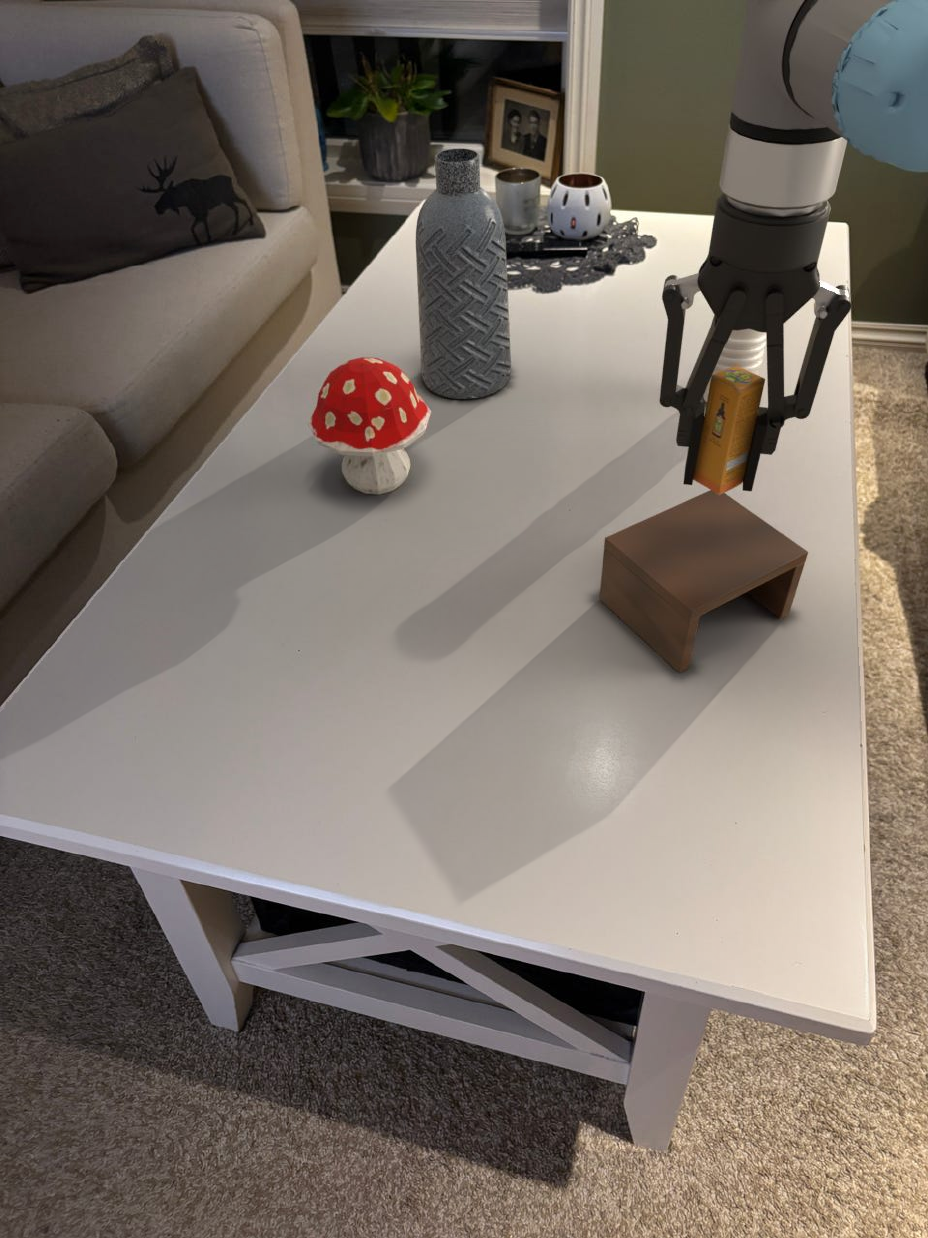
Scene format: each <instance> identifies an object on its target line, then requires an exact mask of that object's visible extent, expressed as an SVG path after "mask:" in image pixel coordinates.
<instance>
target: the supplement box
mask: <svg viewBox="0 0 928 1238" xmlns="http://www.w3.org/2000/svg"><path fill="white" fill-rule="evenodd" d="M765 382H766V379H765V377H762V376H760V375H759V374H758V375H756V374H754V373H752V372H749V371H747V370H745V369H743V368H741V367H739V366H734V367H730V368H728V369H725V370H723V371H720V372H718V373H716V374H713V375H712V378H711V382H710V388H709V394H708V399H707V402H706V404H705V413H704V422H703V427H702V433H701V439H700V444H699V450H698V455H697V461H696V467H695V472H694V478H693V481H695V482H696V483H698V484H700V485H702V486H703V487H705V488H707V489H708V490H709V491H710V490H712V491H713V492H714V493H716V494H717V495H721V494H723V493H725V494H726V493H727V492H729V491H731V490H733V489H734V488H737V487H738V486H740V485H743V478H744V474H745V469H746V465H747V460H748V456H749V452H750V447H751V443H752V438H753V433H754V429H755V424H756V420H757V415H758V411H759V407H761V406H760V405H761V401H762V396H763V393H764V387H765Z"/></svg>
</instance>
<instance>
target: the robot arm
mask: <svg viewBox="0 0 928 1238" xmlns="http://www.w3.org/2000/svg"><path fill="white" fill-rule="evenodd" d="M742 29H743V30H742V35H741V41H740V50H739V55H738V63H737V71H736V76H735V77H736V78H735V83H734V84H735V85H734V92H733V98H732V105H731V113H730V119H729V123H728V126H727V132H726V139H725V144H724V145H725V146H724V151H723V158H722V163H721V164H722V165H721V171H720V177H719V189H720V190H721V192H722V194H721V195H719V197H718V198H717V200H716V202H715V209H714V215H713V221H712V222H713V223H712V229H711V234H710V240H709V247H708V253H707V256H706V258H705V260H704V262H703V263H702V264H701V266H700V267H699V269H698V272H696V273H694V274H691V275H686V276H684V277H679V276H678V275H675V274H670V275H668V276H667V277H666V278H665V280H664V283H663V288H662V294H661V300H662V303H663V307H664V311H665V314H666V318H667V324H666V336H665V343H664V354H663V362H662V363H663V364H662V374H661V382H660V392H659V404H660V405H661V406H662V407H664V408H670V407H671V408H673V409H675V410H677V411H678V413H679V416H678V417H679V418H678V424H677V430H676V439H675V441H676V445H677V446H678V447H683V448H684V447H685V448H687V454H686V460H685V466H684V474H683V482H682V483H683V485H684V486H685V485H686V486H693V483H694V480H693V478H694V472H695V467H696V461H697V455H698V450H699V444H700V439H701V433H702V427H703V422H704V416H705V410H706V401H702V399H703V396H704V393H705V391H706V390H707V389H706V388H707V385H708V383H709V381H710V378H711V376H712V374H713V371H714V369H715V367H716V364H717V362H718V360H719V358H720V355H721V353H722V351H723V348H724V346H725V344H726V343H727V342H728V339H729V337H730V335H731V333H732V330H737V331H738V330H744V329H752V330H755V331H758V332H765V333H766V342H767V344H766V375H767V377H766V378H767V382H766V383H767V407H764V406H759V411H758V415H757V420H756V424H755V429H754V433H753V438H752V443H751V447H750V452H749V456H748V460H747V465H746V469H745V474H744V478H743V483H742V492H752V491H753V488H754V483H755V479H756V475H757V471H758V468H759V467H758V466H759V462H760V458H761V455H769V456H771V455H773V454H774V452H775V451H776V450H777V445H778V441H779V437H780V434H781V429H782V428H783V427H784V425H785V421H787V420H789V419H792V418H793V419H794V418H795V419H798V420H804V419H807V418H808V417H809V416H810V415H811V411H812V408H813V405H814V401H815V398H816V395H817V392H818V388H819V385H820V381H821V379H822V375H823V372H824V369H825V365H826V362H827V359H828V355H829V352H830V348H831V346H832V343H833V339H834V336H835V333H836V330H837V329H838V328H839V326H840V325H841V324H842V322H843V321H844V320H845V318H846V317H847V316H848V314H849V313H850V312H851V309H852V301H851V294H850V289H849V287H848V286H847V285H844V284H839V285H837V286H833V285H831V284H829V283H827V282H825V281H822V280H821V279H820V272H819V269H818V262H819V259H820V254H821V250H822V247H823V242H824V238H825V233H826V230H827V226H828V222H829V218H830V214H831V209H832V208H831V204H830V202H829V201H828V200H829V199H830V198H831V197H833V196H834V195H835V193H836V190H837V186H838V181H839V178H840V173H841V169H842V165H843V161H844V157H845V154H846V153H845V152H846V149H847V144H848V143H850V145H851V146H852V148H853V149H855V150H858V151H859V152H860V153H861V154H863V155H864V156H871V157H872V158H873V159H874V160H875V161H877V162H880V163H886V164H888V165H892V166H894V167H896V168H898V169H900V170H904V171H908V172H915V173H928V0H747V2H746V7H745V14H744V22H743V28H742ZM698 292H701V294H702V296H703V297H704V300H705V301H706V303H707V305H708V306H709V308H710V310H711V311H712V313H713V317H712V321H711V323H710V327H709V329H708V332H707V335H706V337H705V339H704V341H703V344H702V347H701V348H700V351H699V354H698V356H697V358H696V361H695V364H694V366H693V369H692V371H691V373H690V375H689V378H688V380H687V383H686V386H685V387H683V386H681V385H678V381H679V380H678V379H679V371H680V361H681V353H682V345H683V336H684V329H685V319H686V312H687V311H686V310H688V309H690V308H691V307H692V306H693V304H694V301H695V295H697V293H698ZM812 299H813V300H814V303H813V313H814V316H815V319H814V322H813V325H812V329H811V332H810V335H809V339H808V342H807V346H806V350H805V353H804V355H803V356H804V357H803V359H802V363H801V367H800V369H799V370H800V371H799V374H798V378H797V381H796V385H795V388H794V392H793V394H790V395H785V342H784V341H785V327H784V325H785V323H787V321H789V320H790V319H791V318H792V317H793V316H794V315H796V313H797V312H799V311H800V310H801V309H802V308H803V307H804V306H805V305H807V304H808V302H810V301H811V300H812Z"/></svg>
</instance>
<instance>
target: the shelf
mask: <svg viewBox="0 0 928 1238" xmlns="http://www.w3.org/2000/svg"><path fill="white" fill-rule="evenodd" d="M808 555H809V551H808V550H807V549H805V548H803V547H802V546H801V545H799V544H798V543H796V542H795V541H793V540H792V539H791V538H789V537H788V536H786V535H785V534H784V533H782V532H781V531H779V530H778V529H776V528H775V527H774V526H772V525H771V524H769V523H768V522H766V521H765V520H764V519H763V518H761V517H760V516H759V515H757V514H755V513H754V512H752V511H751V510H749V509H748V508H747V507H745V506H744V505H742V504H741V503H740V502H738V501H737V500H735V499H734V498H732V497H731V496H729V494H727V493H726V492H725V493H723V494H721V495H717V494H716V493H714V492H713V491H712V490H710V489H709V490H708V491H705V492H702V493H701V494H698V495H696V496H694V497H692V498H690V499H688V500H685V501H682V502H681V503H678V504H676V505H674V506H673V507H672V506H671V507H670V508H668V509H665V510H663V511H661V512H658V513H656V514H654V515H652V516H650V517H648V518H646V519H643V520H641V521H639V522H636V523H634V524H632V525H630V526H628V527H625V528H623V529H621V530H619V531H616V532H614V533H612V534H610V535H608V536H606V537H604V543H603V554H602V566H601V576H600V585H599V586H600V587H599V595H598V596H599V597H598V599H599V601H600V602H602V604H604V605H605V606H606V607H607V608H608V609H609V610H610V611H611V612H612V613H614V614H615V615H616V616H617V617H618V618H619V619H620V620H621V621H622V622H623V623H624V624H625V625H626V626H627V627H629V628H630V629H631V630H632V631H633V632H634V633H635V634H636V635H637V636H638V637H639V638H641V639H642V640H643V641H644V642H645V643H646V644H647V645H648V646H649V647H650V648H651V649H653V651H654V652H656V653H657V654H658V656H660V657H661V658H662V659H663V660H664V661H665V662H666V663H667V664H668V665H670V666H671V667H672V668H673V669H674V670H675V671H676V672H677V673H678V674H681V673H682V672H684V671H687V670H688V669H689V668H690V664H691V659H692V655H693V650H694V645H695V640H696V636H697V631H698V627H699V623H700V622H699V621H700V618H701V616H703V615H705V614H707V613H708V612H711V611H712V610H715V609H716V608H718V607H720V606H722V605H724V604H726V603H728V602H730V601H732V600H734V599H736V598H738V597H740V596H742V595H744V594H746V593H747V594H748V595H750V597H752V598H753V599H754V600H756V601H757V602H758V603H759V604H761V605H762V606H763V607H765V608H766V609H767V610H769V611H770V612H771V613H772V614H773V615H775V616H776V617H777V618H779V619H783V618H786V617H787V616H788V615H790V612H791V609H792V606H793V603H794V601H795V596H796V593H797V590H798V586H799V584H800V581H801V577H802V574H803V570H804V567H805V564H806V562H807V559H808Z"/></svg>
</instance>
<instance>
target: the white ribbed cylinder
mask: <svg viewBox="0 0 928 1238" xmlns="http://www.w3.org/2000/svg"><path fill="white" fill-rule="evenodd" d="M766 347H767V342H766V333H765V332H758V331H755V330H752V329H744V330H738V331H737V330H732V333H731V335H730V337H729V339H728V342H727V343H726V344H725V346H724V348H723V351H722V353H721V355H720V358H719V360H718V362H717V364H716V367H715V369H714V371H713V374H716V373H718V372H720V371H723V370H725V369H728V368H730V367H734V366H739V367H741V368H743V369H745V370H747V371H749V372H752V373H754V374H756V375H758V376H759V372H760V371H759V370H760V367H761V366H762V364H763V361H764V355H765V351H766ZM713 374H712V375H713ZM711 378H712V376H711ZM711 378H710V381H709V383H708V385H707V388H706V390H705V392H704V395H703V397H702V399H703V400H704V402H705V403H707V399H708V394H709V388H710V382H711Z"/></svg>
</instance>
